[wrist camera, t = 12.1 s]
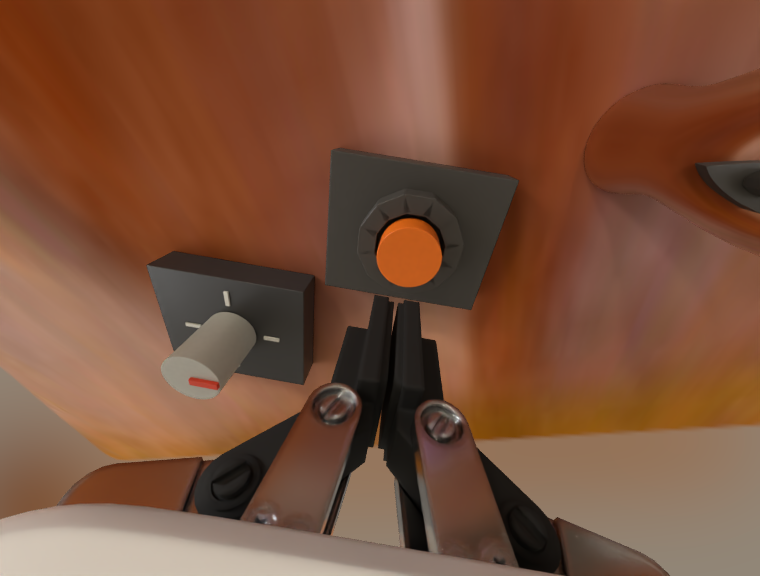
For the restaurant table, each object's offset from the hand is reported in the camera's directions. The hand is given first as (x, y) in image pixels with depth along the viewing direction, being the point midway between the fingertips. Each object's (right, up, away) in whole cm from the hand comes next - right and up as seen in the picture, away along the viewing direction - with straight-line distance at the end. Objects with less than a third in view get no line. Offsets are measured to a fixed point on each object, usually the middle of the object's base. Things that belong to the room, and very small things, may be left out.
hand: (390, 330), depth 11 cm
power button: (+2, +4, +8) cm, 9 cm away
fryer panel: (-13, -1, +17) cm, 22 cm away
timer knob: (-14, -2, +14) cm, 20 cm away
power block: (+2, +6, +11) cm, 13 cm away
